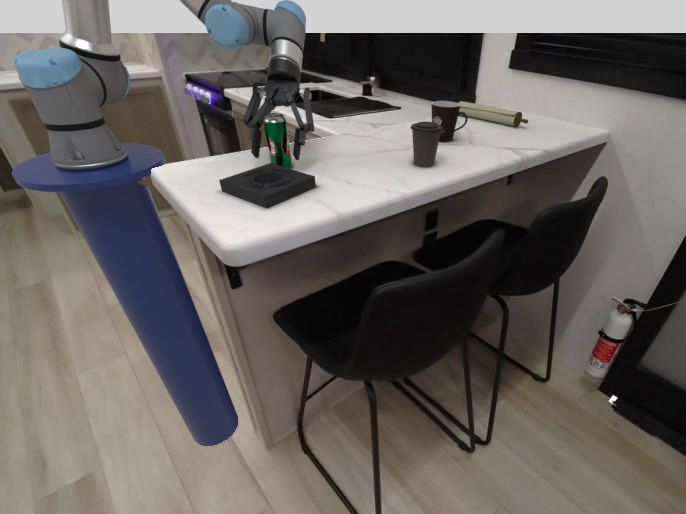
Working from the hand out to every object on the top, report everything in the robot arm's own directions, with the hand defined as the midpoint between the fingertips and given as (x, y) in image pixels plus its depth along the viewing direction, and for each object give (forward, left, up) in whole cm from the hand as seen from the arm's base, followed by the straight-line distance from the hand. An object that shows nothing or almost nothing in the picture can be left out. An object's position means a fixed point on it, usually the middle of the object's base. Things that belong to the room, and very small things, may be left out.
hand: (275, 156), depth 88 cm
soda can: (-2, +3, -4) cm, 5 cm away
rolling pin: (+18, +84, -4) cm, 86 cm away
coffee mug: (+18, +51, -4) cm, 54 cm away
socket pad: (+6, -8, -4) cm, 11 cm away
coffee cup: (+24, +28, -4) cm, 37 cm away
